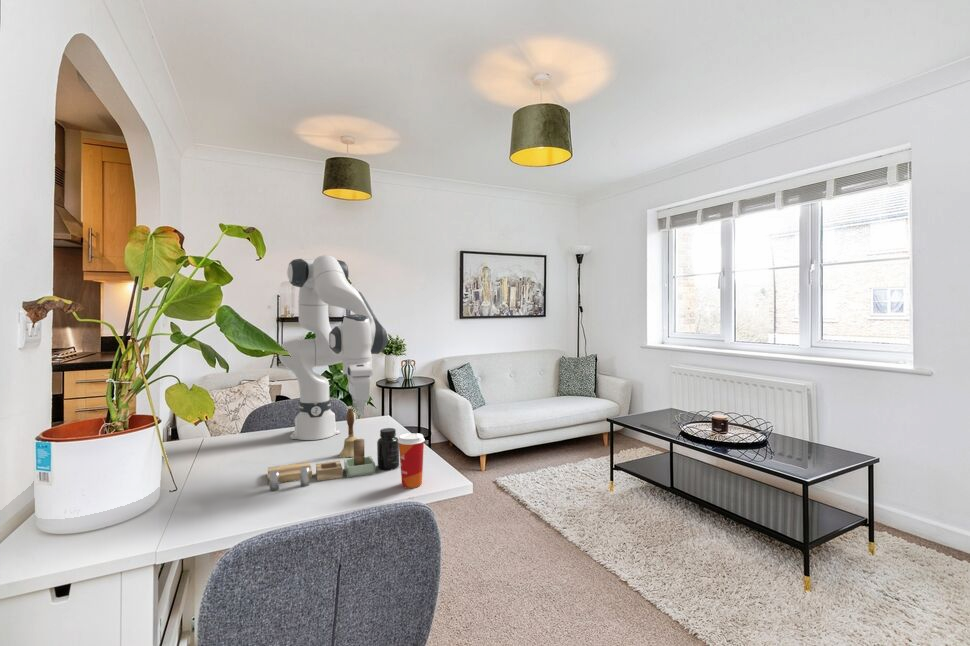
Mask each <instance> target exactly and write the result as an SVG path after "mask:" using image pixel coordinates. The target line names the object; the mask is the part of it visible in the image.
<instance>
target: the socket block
mask: <svg viewBox="0 0 970 646" xmlns="http://www.w3.org/2000/svg"><path fill="white" fill-rule="evenodd" d="M315 473H316V480H317V482H321V481H320V480H323V481H328V480H327V479H330V480H335V479H334V478H336V479H343V466H342V464H341V461H340V460H337V461H336V460H335V461H334V460H333V461H329V462H328V461H327V462H321V463H315Z"/></svg>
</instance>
